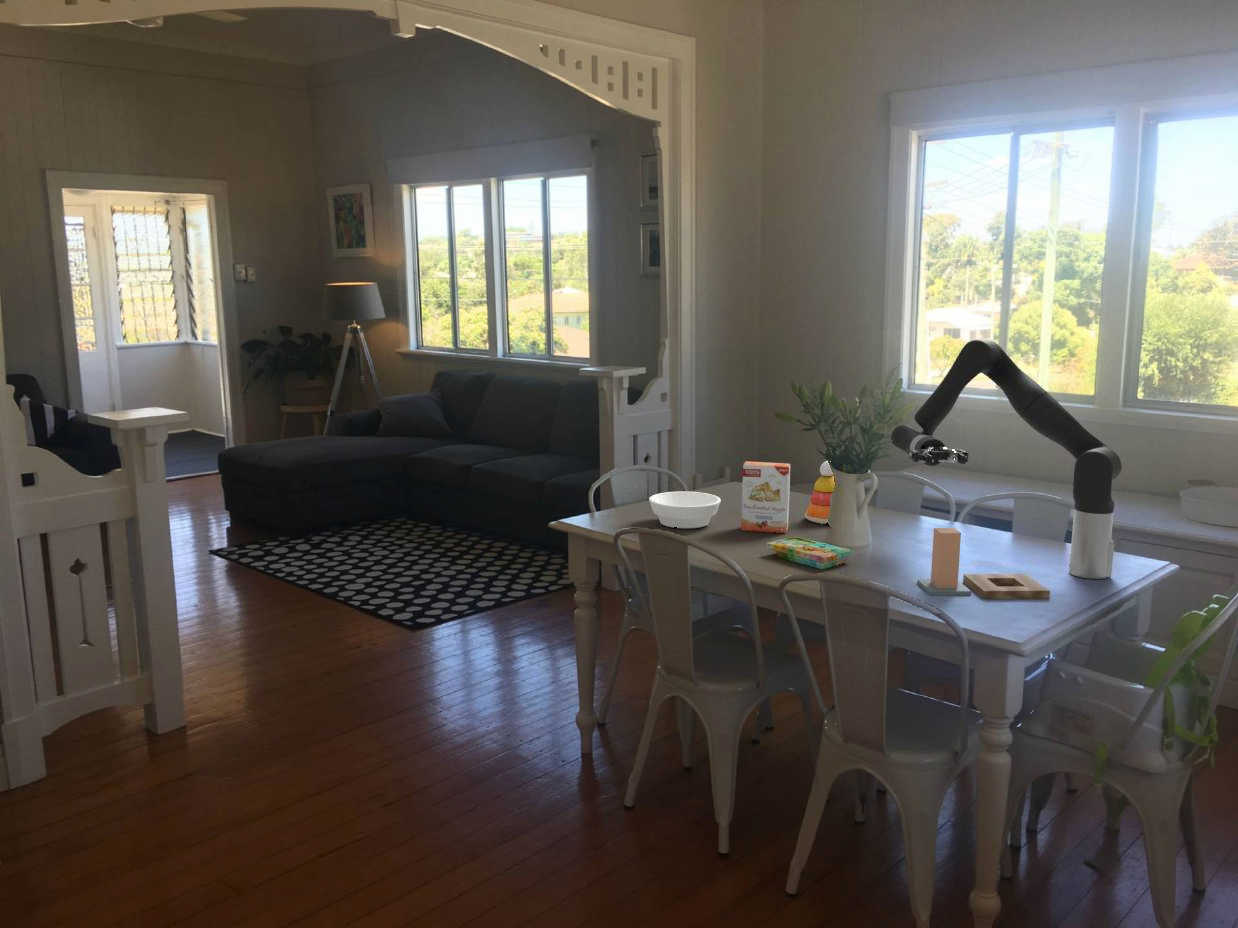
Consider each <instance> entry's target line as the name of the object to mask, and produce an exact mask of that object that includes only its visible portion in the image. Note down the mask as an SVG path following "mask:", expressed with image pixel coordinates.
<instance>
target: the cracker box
mask: <svg viewBox="0 0 1238 928" xmlns="http://www.w3.org/2000/svg"><path fill="white" fill-rule="evenodd" d="M742 466H743V467H742V489H741V490H742V493H741V494H742V495H741V521H740V522H741V523H740V524H741V525H740V526H741V527H740V531H746V532H761V533H762V532H763V533H764V532H765V533H773V532H776V533H775V534H787V533H788V529H789V515H790V513H789V512H790V484H791V483H790V482H791V463H785V462H784V463H783V462H764V461H762V462H761V461H747V460H746V461H744V462H743V465H742Z"/></svg>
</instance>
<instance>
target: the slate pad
mask: <svg viewBox="0 0 1238 928" xmlns="http://www.w3.org/2000/svg"><path fill="white" fill-rule="evenodd" d="M917 584H918V586H920V588H922V589H923V590H924V591H925V590H926V591H925V592H926V593H927V592H928V593H927V594H928V595H929V594H930V595H929V596H971V595H972V590H970V589H969V588H968V587H967V585H964V584H963V582H961V581H960V580H958V587H957V588H936V587H935V586H934V585H933V584H932V583H931V578H930V579H929V578H928V579H925V578H923V579H922V578H921V579H917Z"/></svg>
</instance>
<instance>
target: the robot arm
mask: <svg viewBox="0 0 1238 928" xmlns="http://www.w3.org/2000/svg"><path fill="white" fill-rule="evenodd" d="M979 374H983V375H984V376H986V377H987V378H988V379H990V380H991V381H992V382H993V383H994V384H995V385H997V386H998V387H999V388H1000V389H1001V391H1003V393H1004V395H1005V397H1006V398H1007V400H1008V402H1009V404H1010V405H1011V407H1012V408H1013V409H1014V411H1015V412H1016V413H1017V415H1018V416H1019V417H1020V418H1021V419H1022V420H1023V421H1024V422H1025V423H1027V425H1028V426H1030V427H1031V428H1032V429H1033V430H1034V431H1036V432H1037V433H1039V434H1040V435H1042V436H1043V437H1045V438H1047V439H1049V440H1050V441H1053V442H1054V443H1056V444H1057V445H1060V446H1061V447H1062V448H1064V449H1065V450H1066V452H1069V454H1070V455H1072V457H1073V458H1074V459H1075V464H1074V469H1073V486H1072V487H1073V488H1072V498H1073V502H1074V510H1073V521H1072V533H1071V542H1070V543H1071V545H1070V555H1069V556H1070V557H1069V564H1068V565H1069V567H1068V573H1069V574H1070V575H1072V576H1074V577H1079V578H1084V579H1091V580H1099V579H1107V578H1111V577H1112V571H1113V561H1114V553H1115V552H1114V550H1115V541H1114V540H1113V539H1112V533H1113V522H1114V521H1113V520H1114V513H1115V512H1114V511H1115V501H1114V500H1113V498H1112V486H1113V485H1112V484H1113V480H1116V479H1117V477H1118V476H1119V475H1120V474H1121V471H1122V466H1123V465H1122V461H1121V458H1120V457H1119V455H1118V453H1117V452H1116V451H1115V450H1114V449H1112V448H1111V447H1110V446H1108V445H1107V444H1106V443H1104V442H1103V441H1102V440H1100V439H1099V438H1098V437H1096V436H1095V435H1093V433H1090V431H1088V430H1087V429H1086V428H1085V427H1084V426H1083V425H1082V424H1081V423H1080V422H1079V421H1078V420H1077V419H1076V418H1075V417H1074V416H1073V415H1072V414H1071V413H1070V412H1069V411H1068V410H1066V409H1065V407H1064V406H1062V405H1061V404H1060V403H1059V401H1058V400H1056V398H1054V397H1053V396H1052V395H1051V394H1050V393H1049V392H1048V391H1047V390H1045V388H1043V387H1042V386H1041V385H1040V384H1038V383H1037V382H1036V381H1035V380H1034V378H1032V377H1030V375H1028V374H1027V373H1025V372H1024V371H1023V370H1022V369H1021V368H1020V367H1019V366H1018V365H1017V364H1016V363H1015V362H1014V360H1013V359H1011V357H1010V356H1009V354H1008V353H1006V351H1005V350H1004V349H1003V347H1002V346H1000V345H999V344H998V343H997V341H994V340H992V339H988V338H983V339H981V338H980V339H979V338H976V339H973V340H970V341H968V342H966V344H965V345H964V346H963V347H962V348H961V350H960V351H959V353H958V354H957V357H956V358H955V360H954V362H953V364H951V367H950V368H949V371H947V373H946V375H945V376H944V377H943V379H942V381H941V382H940V383H939V385H938V386H937V387H936V389H935V390H934V391H933V392H932V393H931V395H930V396H929V397H928V398H927V400H926V401H925V402H924V403H923V404H922V406H921V407H920V408H919V409H918V410H917V411H916V413H915V414H914V421H915V422H916V424H918V425H917V426H919V427H921V429H922V431H921V432H920V431H919V430H917V429H915V428H913V427H911V426H910V425H909V424H903V423H902V424H899V425H897V426H896V427H895V428H893V430H892V432H891V435H890V441H891V440H893V442H891V443H892V445H893V446H894V447H896V448H898V449H899V450H901V451H902V452H904V453H906V454H908V455H909V459H910V460H911V461H913V462H915V463H918V462H920V463H922V464H923V465H926V466H928V467H929V466H930V467H935V466H938V465H940V464H941V463H944V462H945V463H950V464H952V463H955V462H956V463H959V464H961V465H966V463H968V462H969V454H970V453H969V452H968V451H966V450H964V449H961V448H956V449H953V448H947V446H946V445H945V443H944V442H943V441H942V440H940V439H939V438H936V437H934V436H933V435H934V434H935V431H936V430H937V428H938V427H939V425H940V424H941V423H943V420H945V418H946V417H947V416H948V415H949V413H950V412H951V411H952V409H953V408H954V406H955V404H956V402H957V401H958V399H959V396H960V395H961V393H962V391H963V390H964V389H965V388H966V386H967V385H969V383H970V382H971V381H972V380H974V378H976V377H977V376H978V375H979Z"/></svg>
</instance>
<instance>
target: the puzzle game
mask: <svg viewBox="0 0 1238 928" xmlns="http://www.w3.org/2000/svg"><path fill="white" fill-rule="evenodd" d="M765 547H766V548H767V549H768V550H770V551H774V552H776V555H777V557H778V558H779V559H783V558H784V560H788V561H791V562H794V563H798V564H802V565H806V566H810V567H812V568H816V569H820V570H825V569H829V568H832V566H833V567H835V566H834V565H836V566H839V564H840V565H843V564H845V563H846V562H847V560H848V559H849V558H850V557H851V556H852V550H851V549H848V548H846V547H845V548H844V547H841V546H836V545H833V544H832V545H831V544H829V543H826V542H819V541H816V540H811V539H807V538H804V537H803V538H802V537H798V536H791V537H787V538H786V537H785V538H782V539H777V540H774V541H770V542H769V541H768V542H766V546H765ZM842 563H843V564H842Z"/></svg>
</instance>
